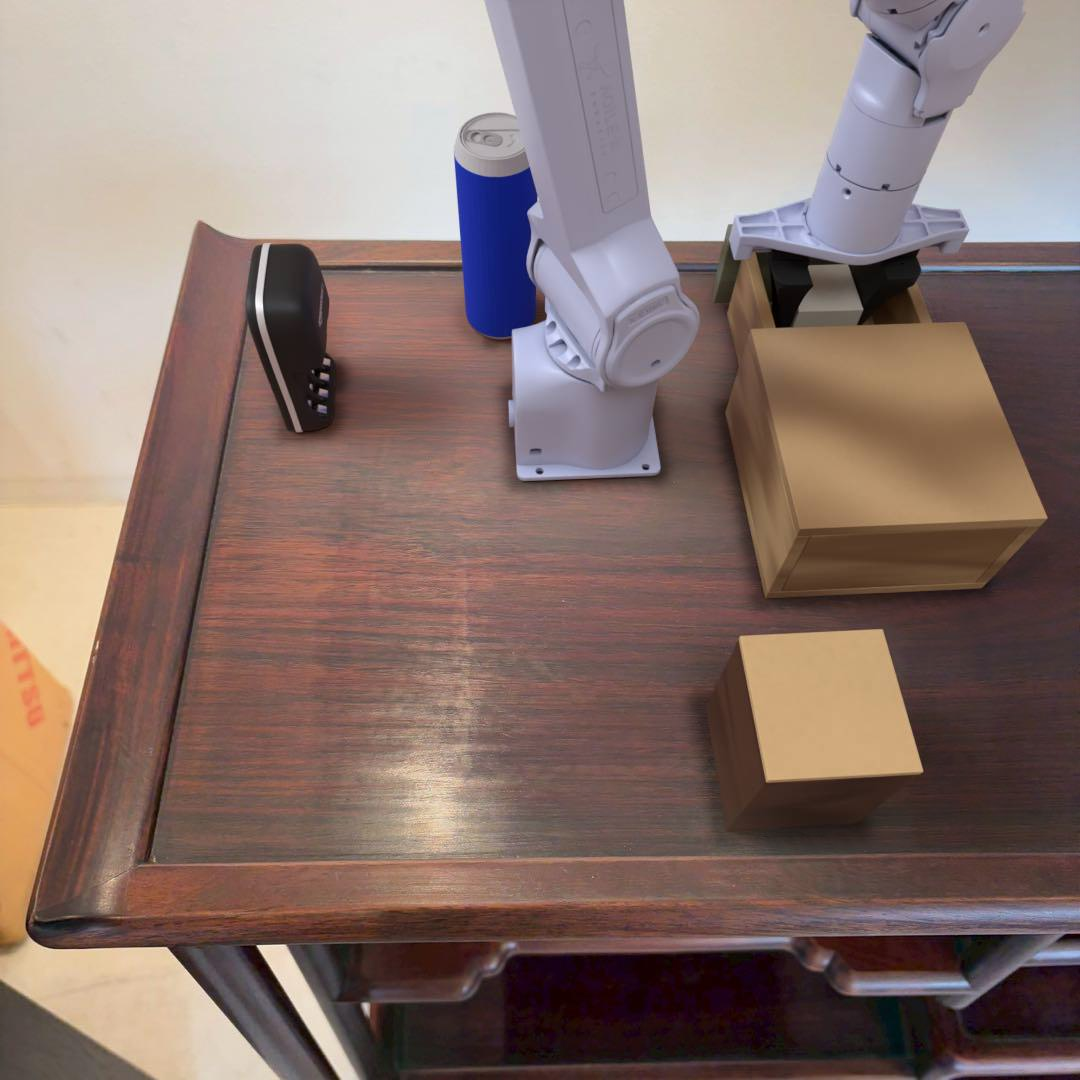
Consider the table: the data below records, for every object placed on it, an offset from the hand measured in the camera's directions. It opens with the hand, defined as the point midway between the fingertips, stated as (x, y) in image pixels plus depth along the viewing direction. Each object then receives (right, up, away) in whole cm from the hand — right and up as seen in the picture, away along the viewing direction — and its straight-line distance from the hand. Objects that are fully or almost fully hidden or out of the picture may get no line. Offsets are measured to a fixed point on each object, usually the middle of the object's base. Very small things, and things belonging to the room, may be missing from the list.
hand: (811, 328), depth 63 cm
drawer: (0, -1, 0) cm, 2 cm away
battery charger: (-35, -5, -1) cm, 35 cm away
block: (0, 0, 0) cm, 0 cm away
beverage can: (-22, +1, +3) cm, 22 cm away
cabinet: (+1, -12, -5) cm, 13 cm away
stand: (-6, -27, -14) cm, 31 cm away
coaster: (-6, -23, -22) cm, 32 cm away
